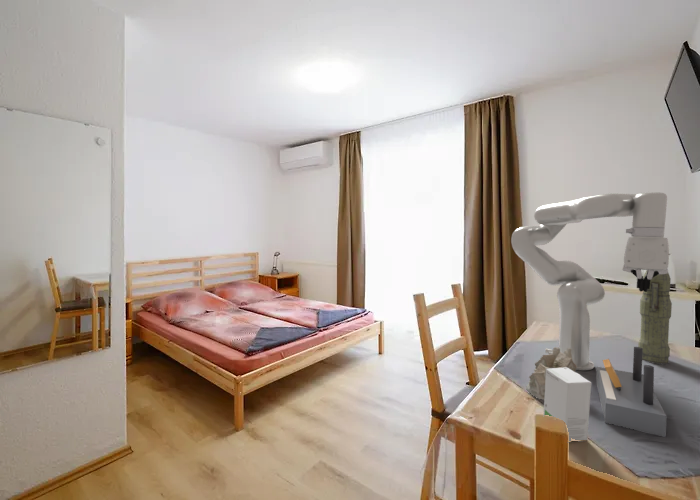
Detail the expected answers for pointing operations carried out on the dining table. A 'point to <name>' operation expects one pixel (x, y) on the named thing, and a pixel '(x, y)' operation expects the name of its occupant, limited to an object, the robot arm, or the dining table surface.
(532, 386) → the beige rock sculpture
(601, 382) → the strip
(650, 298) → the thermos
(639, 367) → the dark grey cylinder
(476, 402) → the dining table surface
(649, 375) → the dark gray rod
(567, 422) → the skincare box
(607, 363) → the wooden plank tile
